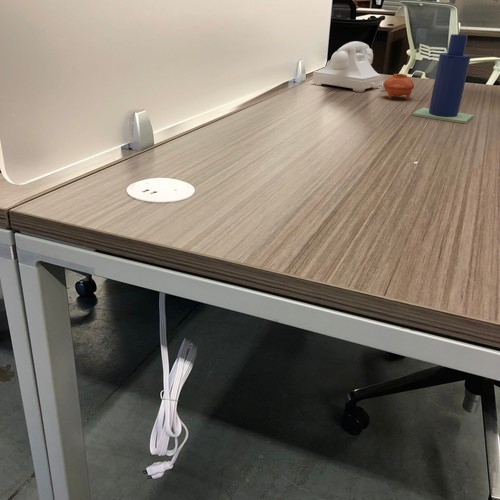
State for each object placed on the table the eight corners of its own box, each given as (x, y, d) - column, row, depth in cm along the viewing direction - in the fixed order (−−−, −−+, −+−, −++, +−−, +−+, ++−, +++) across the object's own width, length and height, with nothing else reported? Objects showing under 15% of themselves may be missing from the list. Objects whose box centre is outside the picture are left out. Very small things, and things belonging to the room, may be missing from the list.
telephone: (347, 77, 166) (352, 35, 160) (406, 85, 154) (414, 41, 148) (303, 85, 149) (306, 40, 143) (365, 96, 137) (372, 47, 131)
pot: (415, 96, 138) (419, 71, 134) (407, 107, 133) (410, 82, 129) (387, 91, 141) (389, 67, 137) (377, 102, 136) (380, 78, 132)
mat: (473, 117, 118) (473, 114, 118) (465, 123, 112) (465, 121, 112) (422, 109, 124) (422, 107, 124) (412, 115, 118) (412, 113, 118)
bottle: (460, 113, 119) (477, 35, 111) (453, 118, 114) (471, 37, 106) (433, 109, 122) (448, 33, 114) (425, 114, 117) (440, 34, 109)
